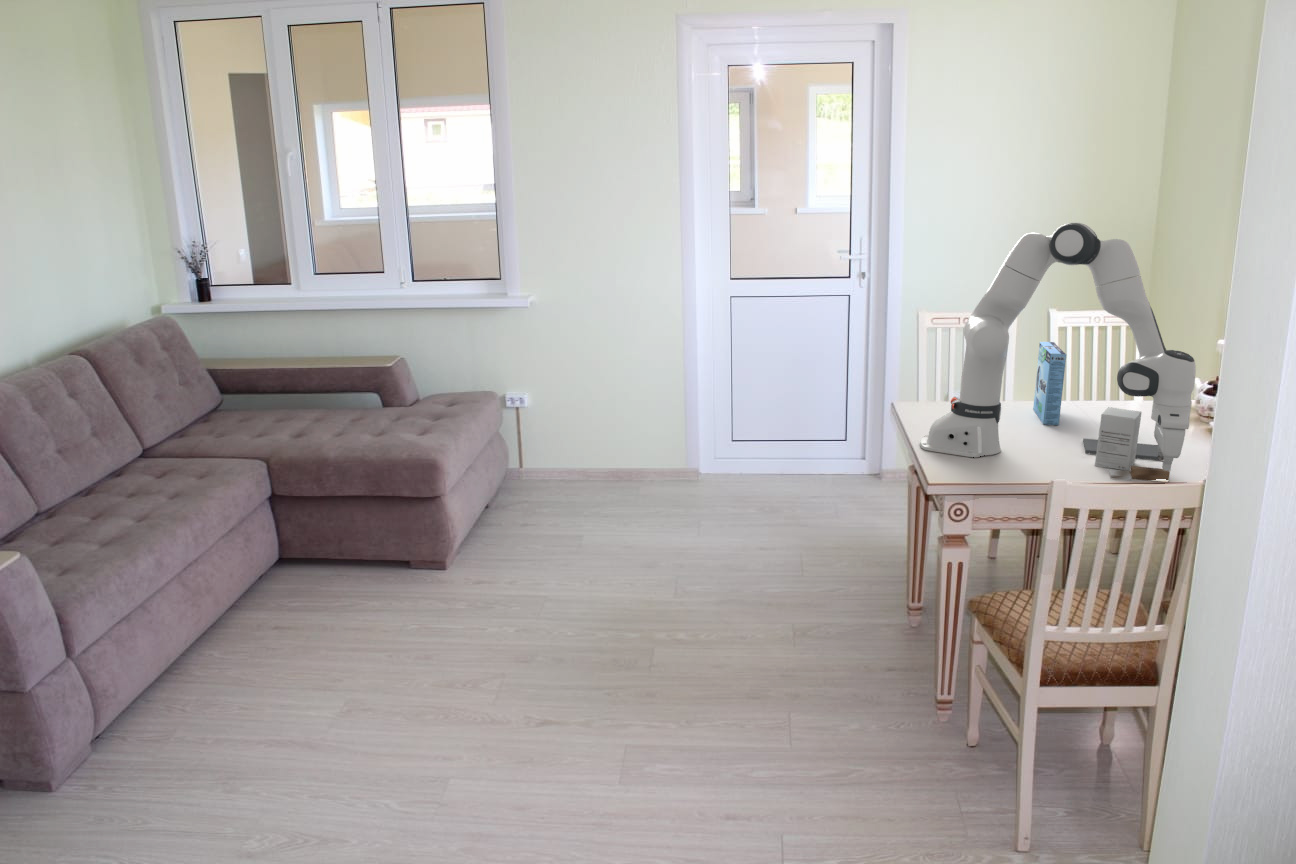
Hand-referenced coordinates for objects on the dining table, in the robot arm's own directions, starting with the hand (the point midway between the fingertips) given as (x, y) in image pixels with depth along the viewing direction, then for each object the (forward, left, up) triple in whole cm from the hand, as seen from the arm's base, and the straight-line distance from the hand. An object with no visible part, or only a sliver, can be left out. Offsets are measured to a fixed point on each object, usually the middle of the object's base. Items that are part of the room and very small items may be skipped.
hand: (1163, 464), depth 260 cm
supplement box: (-11, +10, -5) cm, 15 cm away
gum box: (-28, +55, -5) cm, 62 cm away
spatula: (-6, 0, -5) cm, 7 cm away
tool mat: (-8, +24, -4) cm, 26 cm away
